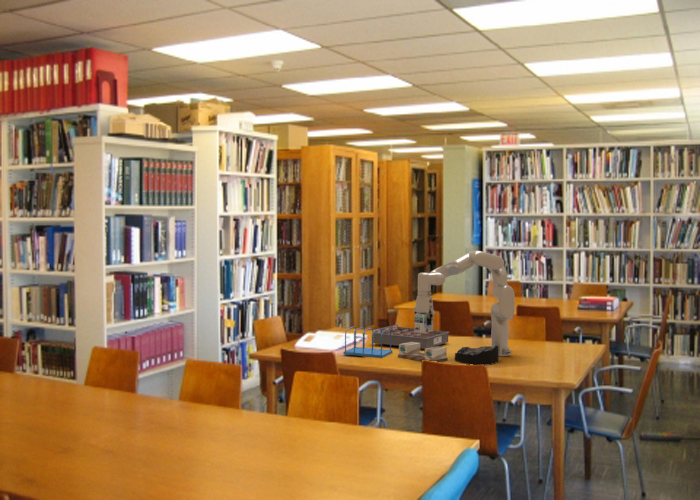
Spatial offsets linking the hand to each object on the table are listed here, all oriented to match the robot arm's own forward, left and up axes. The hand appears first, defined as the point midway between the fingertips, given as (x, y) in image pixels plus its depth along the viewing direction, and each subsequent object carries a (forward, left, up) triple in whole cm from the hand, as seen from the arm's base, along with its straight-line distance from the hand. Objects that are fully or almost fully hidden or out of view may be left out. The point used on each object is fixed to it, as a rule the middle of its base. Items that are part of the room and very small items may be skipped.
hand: (423, 324), depth 414 cm
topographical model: (-24, -18, -21) cm, 37 cm away
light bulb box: (0, 0, -5) cm, 5 cm away
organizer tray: (+37, -30, -21) cm, 51 cm away
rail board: (0, +1, -20) cm, 20 cm away
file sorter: (+32, +14, -20) cm, 40 cm away
